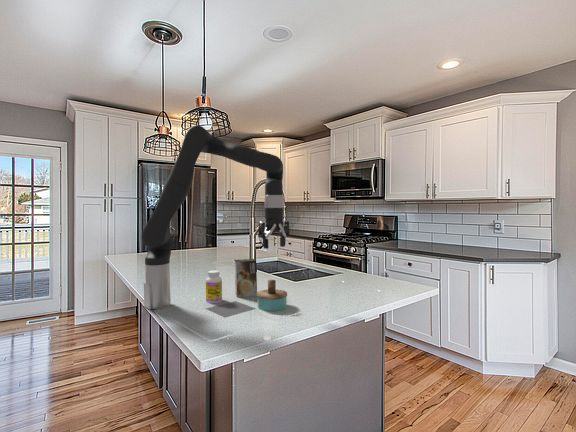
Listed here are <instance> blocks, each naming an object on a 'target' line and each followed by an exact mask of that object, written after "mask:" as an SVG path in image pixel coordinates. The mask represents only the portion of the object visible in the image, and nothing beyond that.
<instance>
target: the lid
mask: <svg viewBox="0 0 576 432" xmlns="http://www.w3.org/2000/svg"><path fill="white" fill-rule="evenodd" d="M276 285H277V283H276V279H267V289H263V290H260V291H257V296H256V298H257V299H258V298H260V299H266V300H275V299H281V298H285V297H286V296H288V291H286V290H284V289H283V290H282V289H278V288H277V289H276V287H277V286H276Z"/></svg>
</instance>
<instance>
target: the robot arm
mask: <svg viewBox="0 0 576 432" xmlns="http://www.w3.org/2000/svg"><path fill="white" fill-rule="evenodd" d="M201 153H204V154H209V155H216V156H219V157H223V158H226V159H229V160H232V161H233V162H236V163H238V164H241V165H244V166H248V167H250V168H255V169H259V170H260V171H264V172H266V173H265V174H266V180H265V185H264V219H265V221H259V222H258V232H257V237H258V238H261V239H262V247H263V249H266V250H267V249H269V238H270V236H271V234H273V233H277V234H278V235H279V245H280V247H281V248H283V247H285V246H286V237H287V236H290V235H291V234H290V222H289V221H288V220H284V216H285V215H284V213H285V211H284V205H285V204H284V196H283V195H284V190H283V188H284V187H283V178H284V177H283V176H284V164H283V161H282V160H281V158H280V157H279V156H277V155H275V154H272V153H268V152H263V151H260V150H258V149H255V148H252V147H249V146H247V145H246V146H245V145H244V144H239V143H233V142H230V141H229V142H228V141H226V140H222V139H220V138H218V137H216V136H214V135H213V134H212V133H210V132H209V131H208V130H207V129H206V128H205V127H203V126H201V125H199V124H198V125H193V126H191V127H189V129H188V130H187V131H186V132H185V135H184V138H183V141H182V144H181V147H180V151H179V153H178V155H177V159H176V160H175V162H174V164H173V166H172V168H171V171H170V174H169V176H168V177H167V178H166V181H165V184H164V187H163V189H162V192H161V194H160V196H159V199H158V200H157V203H156V207H155V209H154V210H153V213H152V214H151V217H150V218H149V219H148V221H147V223H146V224H145V226H144V228H143V230H142V231H141V232H142V233H141V241H142V243H143V244H144V246H146V247H147V253H146V256H145V259H144V270H145V271H144V272H145V273H144V275H145V278H144V279H145V281H144V283H143V307H145V308H146V309H148V310H156V309H162V308H166V307H169V306H171V304H172V303H171V302H172V301H171V300H172V299H171V270H170V269H171V267H170V266H171V265H170V264H171V262H170V259H171V255H172V233H171V230H170V228H169V226H170V224H171V221H172V219H173V217H174V216H175V214H176V213H177V212H178V211H179V210H180V208H181V206H182V205H183V204H184V203H185V201H186V198H187V197H188V194H189V192H190V190H191V187H192V184H193V179H194V173H195V166H196V164H197V160H198V159H199V156H200V154H201Z"/></svg>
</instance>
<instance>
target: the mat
mask: <svg viewBox="0 0 576 432" xmlns="http://www.w3.org/2000/svg"><path fill="white" fill-rule="evenodd" d="M204 309H205V310H207V311H210V312H212V313H214V314H216V315H217V316H221V317H223V318H228V317H232V316H235V315H238V314H241V313H245V312H249V311H253V310H256V307H253V306H250V305H247V304H245V303H242V302H239V301H237V300H235V301H230V302H226V303H222V304H218V305H214V306H211V307H206V308H204Z"/></svg>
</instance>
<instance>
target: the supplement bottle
mask: <svg viewBox="0 0 576 432" xmlns="http://www.w3.org/2000/svg"><path fill="white" fill-rule="evenodd" d="M207 275H208V277H206V279H205V302H206V303H208V304H216V303H221V302H222V301H223V279H222V277H221V276H220V270H216V269H215V270H209V271H207Z"/></svg>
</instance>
